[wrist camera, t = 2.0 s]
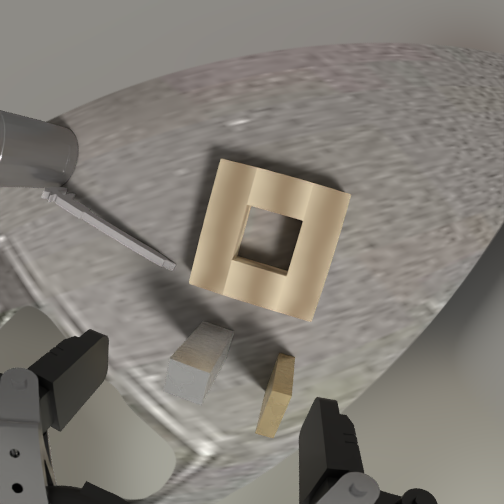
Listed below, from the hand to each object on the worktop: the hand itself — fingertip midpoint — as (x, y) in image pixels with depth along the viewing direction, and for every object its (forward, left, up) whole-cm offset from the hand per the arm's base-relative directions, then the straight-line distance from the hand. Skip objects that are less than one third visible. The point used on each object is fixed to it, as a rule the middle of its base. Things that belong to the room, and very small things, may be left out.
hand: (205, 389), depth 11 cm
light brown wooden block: (+5, -13, -27) cm, 30 cm away
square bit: (-4, -11, -27) cm, 29 cm away
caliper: (-21, -1, -27) cm, 34 cm away
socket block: (-1, +3, -27) cm, 27 cm away
